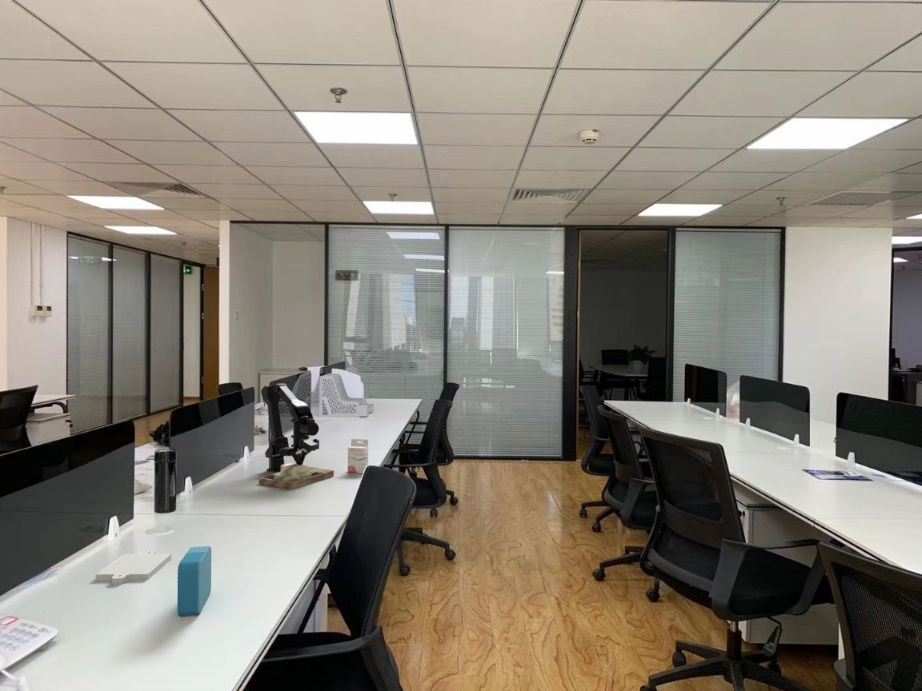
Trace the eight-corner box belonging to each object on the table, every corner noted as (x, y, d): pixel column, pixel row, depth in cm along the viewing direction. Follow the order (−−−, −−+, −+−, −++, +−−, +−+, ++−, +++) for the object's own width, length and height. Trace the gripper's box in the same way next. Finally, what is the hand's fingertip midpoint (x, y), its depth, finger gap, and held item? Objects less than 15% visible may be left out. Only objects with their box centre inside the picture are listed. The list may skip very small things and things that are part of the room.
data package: (191, 594, 136) (191, 544, 135) (211, 592, 137) (211, 543, 136) (177, 618, 124) (177, 564, 124) (199, 616, 125) (199, 563, 125)
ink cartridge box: (347, 472, 257) (347, 440, 256) (350, 470, 262) (350, 438, 261) (365, 473, 256) (365, 441, 255) (368, 470, 261) (368, 439, 260)
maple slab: (280, 473, 244) (280, 465, 244) (289, 470, 248) (289, 463, 248) (297, 476, 239) (298, 468, 239) (306, 473, 243) (306, 465, 243)
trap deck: (259, 483, 235) (259, 477, 235) (303, 470, 258) (303, 465, 258) (290, 489, 227) (290, 483, 227) (333, 476, 250) (333, 470, 250)
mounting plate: (128, 557, 158) (128, 550, 158) (175, 557, 159) (175, 550, 159) (89, 586, 140) (89, 578, 140) (143, 585, 141) (143, 578, 141)
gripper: (298, 438, 235) (298, 475, 235) (328, 431, 251) (328, 466, 251) (278, 435, 240) (278, 471, 240) (309, 429, 256) (309, 463, 257)
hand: (299, 468), depth 247 cm, fingers closed
